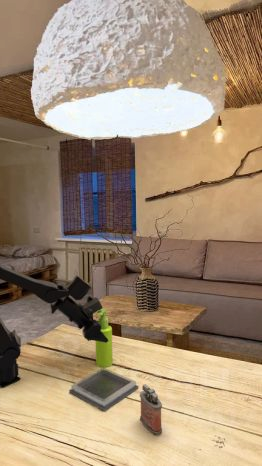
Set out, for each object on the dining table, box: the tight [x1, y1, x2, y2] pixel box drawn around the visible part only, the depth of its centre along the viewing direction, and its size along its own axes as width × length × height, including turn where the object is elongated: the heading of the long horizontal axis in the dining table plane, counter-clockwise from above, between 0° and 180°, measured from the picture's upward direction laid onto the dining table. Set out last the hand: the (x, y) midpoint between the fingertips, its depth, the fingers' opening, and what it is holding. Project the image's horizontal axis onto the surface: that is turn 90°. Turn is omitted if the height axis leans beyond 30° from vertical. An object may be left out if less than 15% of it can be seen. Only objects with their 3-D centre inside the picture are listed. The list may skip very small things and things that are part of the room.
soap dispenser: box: [95, 307, 114, 368], centre depth 122 cm, size 6×7×20 cm
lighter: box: [139, 383, 163, 436], centre depth 89 cm, size 8×3×10 cm, turn 30°
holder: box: [69, 367, 139, 413], centre depth 106 cm, size 15×15×2 cm
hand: (104, 336), depth 122 cm, fingers open, 9 cm apart
